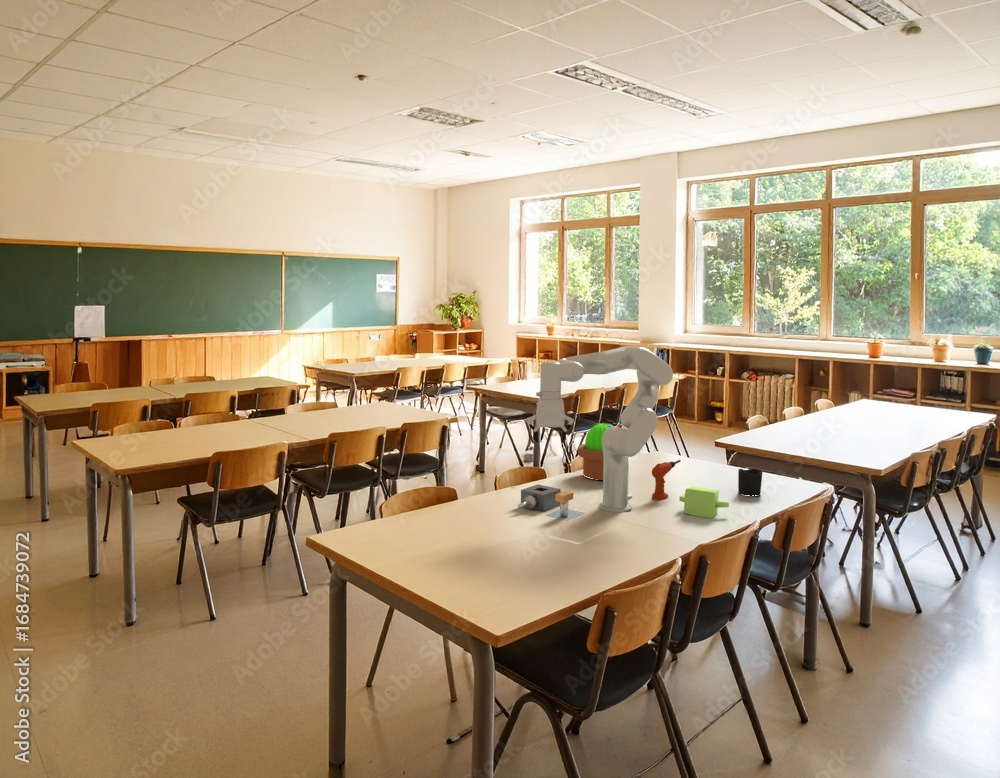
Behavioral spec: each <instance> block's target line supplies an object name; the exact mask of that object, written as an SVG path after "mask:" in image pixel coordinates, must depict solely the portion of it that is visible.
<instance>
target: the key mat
mask: <svg viewBox="0 0 1000 778" xmlns="http://www.w3.org/2000/svg"><path fill="white" fill-rule="evenodd" d="M585 514H586V512H581V511H578V510H574V509H573V510H572V509H569V508H568V518H561V517H560V509H557V510H555V511H551V512H550V513H547V514H545V516H546V517H550V518H554V519H559V520H563V521H570V520H573V519H574V518H578V517H579V516H582V515H585Z"/></svg>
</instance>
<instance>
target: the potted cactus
mask: <svg viewBox="0 0 1000 778" xmlns="http://www.w3.org/2000/svg"><path fill="white" fill-rule="evenodd" d="M610 427H615V426H614V425H612V424H611V423H606V422H602V423H597V424H594V425H593V426H592V427H591V428H589V430H588V431H587V433H586V435H585V441H584V443H582V444H580V445H578V447H577V448H578V450H577V451H578V452H577V453H578V457H580V458H583V462H582V464H583V469H582V475H583V474H584V475H585V476H587V477H590V478H593V479H598V480H603V469H604V456H603V448H602V436H603V433H604V432H605V431H606V430H607V429H608V428H610Z"/></svg>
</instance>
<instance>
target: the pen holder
mask: <svg viewBox="0 0 1000 778" xmlns="http://www.w3.org/2000/svg"><path fill="white" fill-rule="evenodd" d="M737 472H738V475H737V476H738V479H737V480H738V481H737V482H738V485H737V486H738V494H739V495H740V494H743V495H750V496H752V495H754V496H755V495H759V496H760V495H761V492H762V491H761V490H762V483H763V482H762V481H763V470H761V469H758V468H750V469H743V468H738V471H737ZM743 495H742V496H743Z"/></svg>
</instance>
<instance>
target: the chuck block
mask: <svg viewBox="0 0 1000 778" xmlns="http://www.w3.org/2000/svg"><path fill="white" fill-rule="evenodd" d="M561 492H562V489H561V488H557V487H553V486H549V485H543V484H539V483H538V484H535V485H531V486H529V487H525V488H522V489H520V503H518V504H517V507H518V508H519V509H520V508H525V509H526V508H527V509H528V510H535V511H539V512H543V513H544V512H547V511H550V510H552V509H554V508H557V507H560V502H558V501H555V494H558V493H561Z"/></svg>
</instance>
